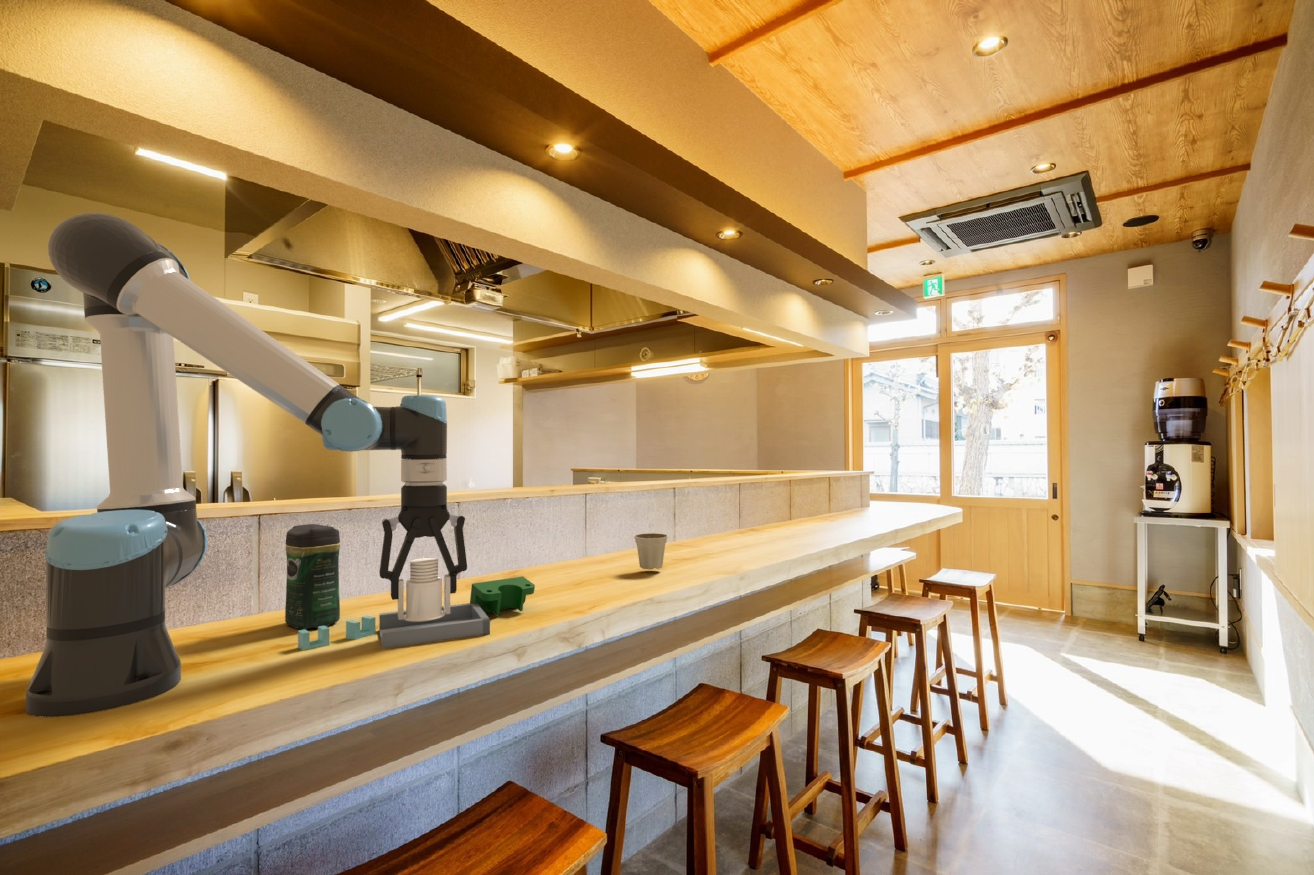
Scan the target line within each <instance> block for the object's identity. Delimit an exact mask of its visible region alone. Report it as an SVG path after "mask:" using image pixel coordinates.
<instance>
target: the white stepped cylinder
mask: <svg viewBox="0 0 1314 875" xmlns="http://www.w3.org/2000/svg"><path fill="white" fill-rule="evenodd" d="M409 563H410V565H409V567H410V568H409V571H410V572H409V574H410V576H409V577H410V578H409V579H407V580H406V581H405V582H406V590H405V591H406V592H405V594H406V595H405V596H406V597H405V598H406V601H405V602H406V604H405V605H406V606H405V608H406V609H405V611H406V614H405V615H404V619H403V620H406V621H412V622H420V621H430V620H435V619H438V618H441V617H443V616H445V612H444V611H442V606H443V605H442V604H443V603H442V599H443V598H442V596H443V595H442V594H443V592H442V590H443V588H442V587H443V580H442V579H443V578H442V577H439V559H438V558H434V557H426V558H425V557H424V558H416V559H415V558H414V559H411V560H410V561H409Z"/></svg>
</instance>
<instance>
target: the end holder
mask: <svg viewBox="0 0 1314 875" xmlns="http://www.w3.org/2000/svg"><path fill="white" fill-rule="evenodd" d="M442 611H444V605H442ZM405 614H406V610H404V615H405ZM378 616H379V623H378V625H379V630H378V632H379V636H380V643H381V649H382V650H386V649H387V650H388V649H393V647H394V648H399V647H407V646H415V645H416V646H417V645H422V644H423V645H424V644H429V643H437V642H445V641H450V640H460V639H465V638H466V639H467V638H472V637H473V638H475V637H481V636H488V635H489V636H490V635H491V618H490V617H489V616H488V615H487V613H485V612H484V611H483V610H482V609H481V607H480V606H479V605H478V604H477V602H476V603H470V602H469V603H461V604H459V603H458V604H450V614H445V616H443V617H441V618H438V619H435V620H430V621H420V622H412V621H406V620H399V619H398V611H391V612H382V613H381V612H380V613H379V615H378Z"/></svg>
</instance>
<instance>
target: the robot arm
mask: <svg viewBox="0 0 1314 875" xmlns="http://www.w3.org/2000/svg"><path fill="white" fill-rule="evenodd" d="M47 251H48V257H49V260H50V262H51V265H52V266H53V268H54V271H56V273H57V274H58V275H59V277H60V278H61V279H62V280H63V281H64V282H66V283H67V284H68V285H69V286H71V287H73V288H74V289H76V290H78V291H79V292H81V293H82V296H83V298H82V299H83V312H84V321H85V323H86V324H88V325H89V326H90V327H91V328H93V329H94V330H96V331H97V333H98V334H99V340H100V341H99V342H100V354H101V356H100V357H101V358H100V359H101V370H102V371H101V372H102V374H101V375H102V387H103V389H102V390H103V401H104V402H103V403H104V404H103V405H104V406H103V407H104V418H105V435H106V450H107V464H108V465H107V466H108V478H109V480H108V482H109V483H108V484H109V494H108V496H107V497H106V498H105V499H104V500H103V501H101V503H99V504H98V505H97V506H96V512H93V513H90V514H81V515H76V516H72V517H69V518H66V519H63V520H61V521H59V522H57V523H56V524H54V525H53V526H52V527H51V528H50V531H49V532H48V534H47V545H46V548H45V550H44V557H45V561H46V562H45V563H46V564H45V565H46V567H45V568H46V570H45V572H46V574H45V575H46V577H45V579H46V582H45V583H46V591H45V596H46V598H45V599H46V607H45V608H46V616H45V617H46V618H45V619H46V620H45V622H46V630H45V632H46V636H45V637H46V641H45V647H44V649H43V651H42V654H41V656H40V659H39V660H38V664H37V666H36V668H35V670H34V672H33V675H32V677H31V678H30V682H29V685H28V687H27V689H26V692H25V713H27V714H28V715H30V714H31V715H30V716H32V715H35V716H34V717H39V716H41V718H42V716H43V718H53V717H54V718H55V717H56V718H58V717H71V716H77V715H78V716H79V715H84V714H85V715H86V714H92V713H97V712H104V711H108V709H109V710H113V709H119V708H122V707H126V706H130V705H132V704H136V703H140V702H143V701H146V700H149V699H151V698H154V697H156V696H159V695H161V694H163V693H165V692H167V691H169V690H172V689H173V688H175V687H176V686H177V685H178V684H179V683H180V682H181V680H182V663H181V660H180V657H179V655H178V653H177V650H176V647H175V646H174V643H173V641H172V638H171V636H170V634H169V632H168V629H167V626H166V589H167V588H169V587H171V586H173V585H174V586H175V585H176V584H178V583H180V582H181V581H183V580H185V579H186V578H188V576H190V575H191V574H192V573H193V572H194V571H195V570H196V569H197V567H198V566H199V565H200V564H201V563H202V561H203V559H204V557H205V556H206V553H207V549H208V541H209V540H208V533H207V531H206V528H205V527H204V525H203V524H202V522H201V521H200V520H199V519H198V515H197V514H198V513H197V499H196V497H195V496H194V495H192V494H191V493H190V492H188V491H187V490H186V489H184V484H183V470H182V466H183V465H182V454H181V439H180V438H181V437H180V420H179V418H180V417H179V404H178V390H177V377H176V376H177V375H176V359H175V358H176V357H175V341H174V339H176V340H177V341H178V342H180V343H182V344H183V345H184V346H186V347H188V348H189V349H191V350H192V351H194V352H195V353H197V354H198V355H199V356H201V357H203V358H204V359H205V360H208V361H209V362H211V363H212V364H214V365H215V366H216V367H219V368H220V369H221V370H222V371H224V372H226V373H227V374H229V375H230V376H232V377H233V378H235V379H237V380H238V381H240V382H241V383H242V384H244V385H246V386H247V387H249V388H251V389H252V390H253V391H255V392H256V393H258V394H259V395H261V396H262V397H263V398H264V399H265V398H266V399H267V400H268V401H270V402H272V403H273V405H275V406H277V407H279V408H281V409H282V410H284V411H285V412H286V413H288V414H290V415H291V416H292V417H294V418H296V419H297V420H298V421H300V422H302V423H303V424H305V425H307V426H308V427H309V428H310V429H311V430H313V431H315V432H316V433H318V434H319V435H321V439H322V440H321V441H322V443H323V447H324V448H325V449H327V450H328V451H329V450H330V451H341V452H352V453H353V452H361V451H387V450H388V451H397V450H398V451H400V452H401V456H400V457H401V459H400V462H401V463H400V465H401V466H400V467H401V468H400V481H401V483H404V484H403V485H402V486H401V490H400V512H398V515H397V516H396V517H392V518H384V519H382V521H381V525H382V529H383V540H382V541H383V542H382V548H381V556H380V565H379V573H378V574H379V577H380V578H381V579H385V580H388V581H390V598H391V599H392V601H393V600H394V601H396V600H397V612H398V619H399V620H403V619H404V611H405V610H404V607H405V606H404V603H405V602H404V601H405V600H404V598H405V597H404V596H405V594H404V592H405V591H404V590H405V588H404V586H405V585H404V584H405V583H404V578H403V577H402V578H400V577H401V573H402V571H403V569H404V566H405V564H406V561H407V558H408V556H409V553H410V551H411V549H412V546H413V544H414V541H415V539H421V538H423V537H427V538H432V537H433V538H434V539H435V542H436V545H437V547H438V550H439V552H440V554H441V557H442V561H443V562H444V564H445V565H444V566H445V567H446V570H447V572H448V573H445V574H443V606H444V612H445V614H450V605H451V594H456V593H457V587H458V586H457V578H458V577H457V576H458V574H460V573H462V572H466V571H467V569H468V560H467V554H466V546H465V544H466V543H465V536H464V525H465V521H466V518H465V516H463V515H462V514H458V515H457V514H450V512H449V510H448V504H447V503H448V495H447V494H448V492H447V491H448V488H447V485H446V484H444V483H445V482H446V481H448V480H447V478H448V476H447V475H448V474H447V471H448V470H447V465H448V464H447V457H448V456H447V453H448V451H447V448H448V447H447V446H448V443H447V442H448V420H447V416H448V415H447V403H446V401H445V399H444V398H442V397H440V396H438V395H426V394H425V395H424V394H419V395H415V394H414V395H413V394H412V395H411V394H410V395H404V396H403V397H402V398H401V399H400V405H399V406H373V405H371V404H370V402H369V403H368V402H367V401H366V400H364V399H362V398H360V397H358V396H357V395H355V394H354V393H353V392H351V391H350V390H348V389H347V388H345V387H343V386H342V385H341V384H339V383H338V382H337V381H335V380H334V379H333V378H331V377H330V376H328V375H327V374H326V373H324V372H323V371H321V370H320V369H318V368H316V367H315V366H314V365H312V364H311V363H310V362H308V361H307V360H306V359H304V358H303V357H301V356H299V355H298V354H296V353H295V352H294V351H292V350H291V349H289V348H288V347H286V346H285V345H284V344H282V343H281V342H279V340H277V339H275V338H273V337H272V336H271V335H270V334H268V333H266V332H265V331H263V330H262V329H261V328H259V327H258V326H256V325H255V324H253V323H252V322H251V321H249V320H248V319H246V317H243V316H242V315H241V314H239V313H237V312H236V311H235V310H233V309H232V308H230V307H229V306H228V305H226V304H225V303H223V302H222V301H220V300H219V299H218V298H216V297H215V296H213V295H211V294H210V293H209V292H207V291H206V290H204V289H203V288H201V287H200V286H199V285H197V284H196V283H194V282H193V281H192V280H191V278H190V275H189V273H188V271H187V269H186V267H185V266H184V265H183V263H182V262H181V260H180V259H179V258H178V257H177V256H176V255H175V254H174V253H173V252H172V251H171V250H169V249H168V248H167V247H165V246H163V245H162V244H160V243H158V242H156V241H155V240H154V239H153V238H152V237H151V236H150V235H148V234H147V233H146V232H145V231H143V229H142V228H140V227H138V226H137V225H135V224H134V223H132V222H130V221H128V220H126V219H124V218H122V217H119V216H116V215H111V214H109V213H101V212H86V213H80V214H76V215H72V216H71V217H68V218H65V219H64V220H62V221H61V222H60V223H59V224H57V225H56V227H55V228H54V229H53V230H52V232H51V234H50V235H49V239H48V245H47ZM449 521H450V525H451V527H453V531H454V540H455V549H456V551H455V552H456V557H457V558H456V559H457V564H456V565H455V563H454V562H453V557H452V556H451V554H450V551H449V548H448V546H447V544H446V540H445V538H444V535H443V533H442V530H443V528H445V527H444V526H446V524H447V522H449ZM398 524H400V525H401V526H402V527H403V529H405V531H406V534H405V537H404V540H403V543H402V544H401V548H400V551H399V553H398V555H397V557H396V560H395V563H394V565H393V568H392V570H389V569H390V568H389V566H390V559H391V551H392V542H393V532H395V531H396V529H397V525H398ZM103 710H104V711H103Z"/></svg>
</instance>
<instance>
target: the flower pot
mask: <svg viewBox="0 0 1314 875" xmlns="http://www.w3.org/2000/svg"><path fill="white" fill-rule="evenodd" d="M633 538H634V540H635V543H636V549H637V556H638V563H639V567H640V568H641V569H642V570H643V569H644V570H654V569H657V570H659V569H662V568H663V565H664V558H665V551H666V550H665V548H666V544H667V542H668V541H667V540H668V538H669V535H668V534H666V533H658V532H657V533H656V532H655V533H654V532H647V533H646V532H645V533H637V534H634V535H633Z"/></svg>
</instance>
